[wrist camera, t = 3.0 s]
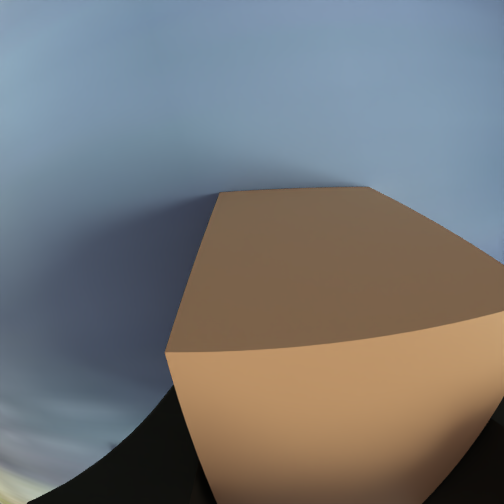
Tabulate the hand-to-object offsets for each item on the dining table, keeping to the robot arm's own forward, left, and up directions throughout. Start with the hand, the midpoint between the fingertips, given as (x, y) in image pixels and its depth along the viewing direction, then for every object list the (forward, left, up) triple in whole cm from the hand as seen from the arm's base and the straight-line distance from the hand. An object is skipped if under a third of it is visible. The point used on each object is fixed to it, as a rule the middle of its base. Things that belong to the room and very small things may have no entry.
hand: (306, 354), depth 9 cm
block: (0, 0, -2) cm, 2 cm away
